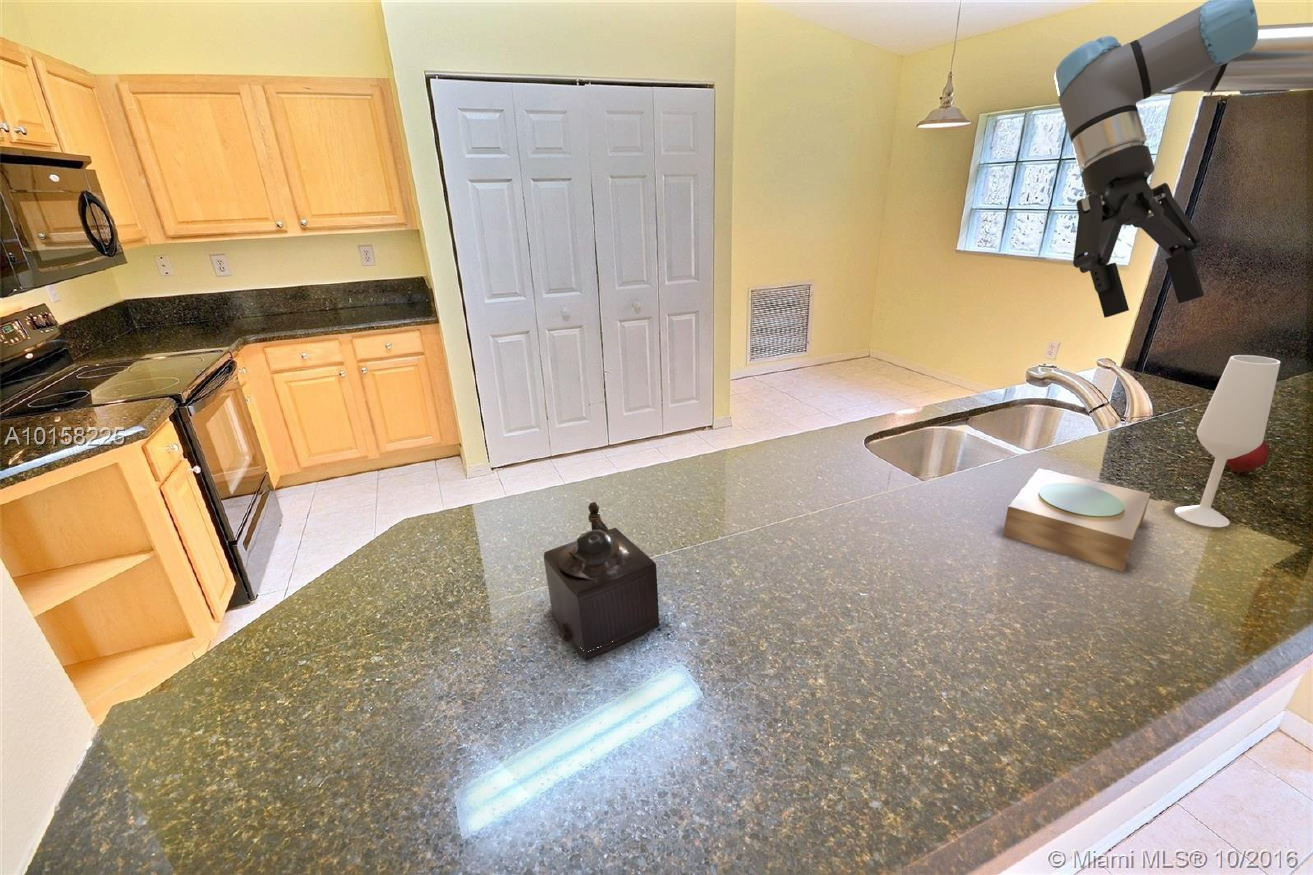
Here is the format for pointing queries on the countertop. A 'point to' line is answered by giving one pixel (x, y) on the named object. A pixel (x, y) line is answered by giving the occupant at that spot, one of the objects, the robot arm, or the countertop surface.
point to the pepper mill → (601, 589)
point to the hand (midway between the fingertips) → (1154, 307)
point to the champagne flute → (1233, 424)
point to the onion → (1250, 459)
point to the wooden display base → (1077, 517)
